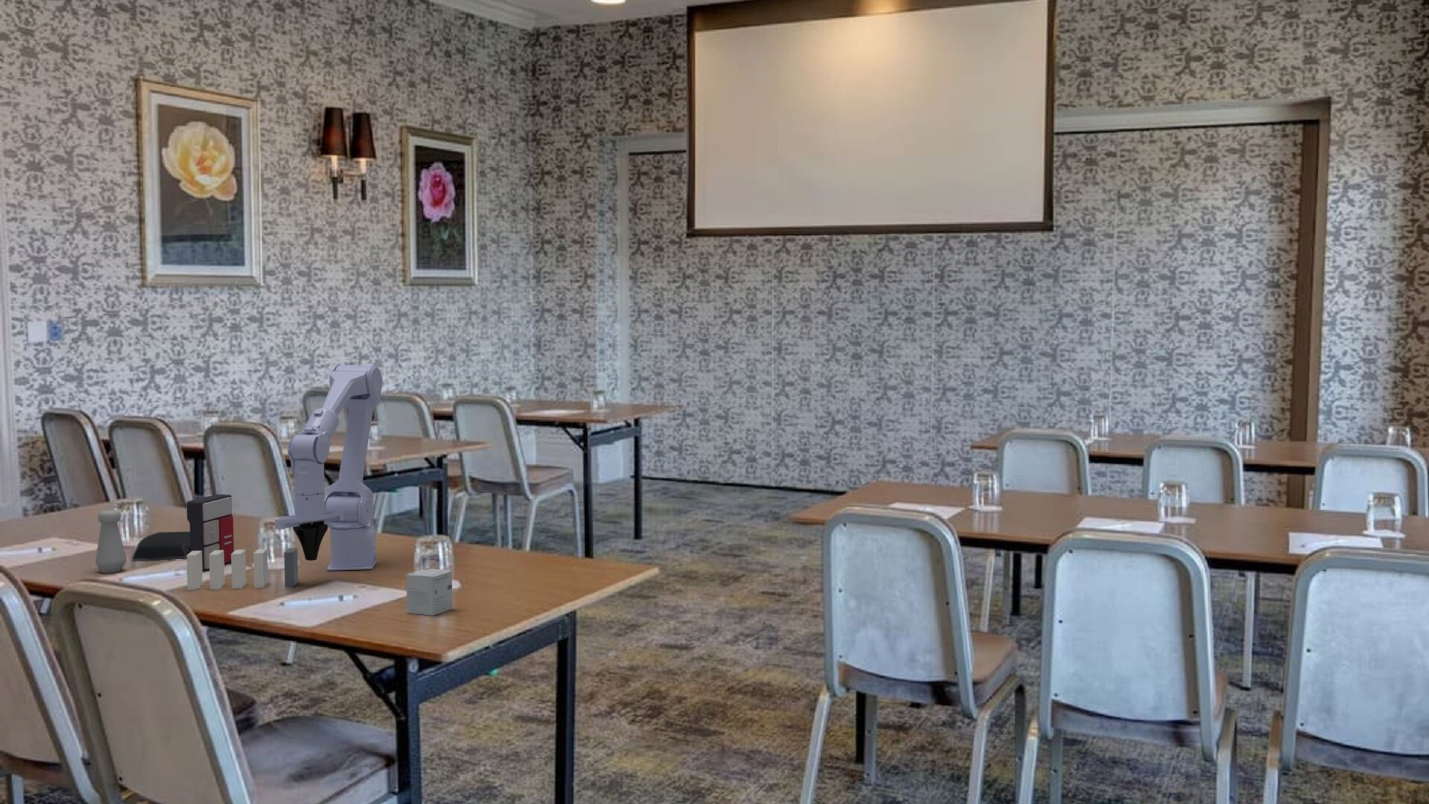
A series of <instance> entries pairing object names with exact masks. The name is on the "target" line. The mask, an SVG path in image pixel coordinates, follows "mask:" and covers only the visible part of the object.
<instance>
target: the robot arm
mask: <svg viewBox="0 0 1429 804" xmlns="http://www.w3.org/2000/svg"><path fill="white" fill-rule="evenodd" d="M328 379H329V380H328V383H329V390H328V393H327V395H326V397H325V398H324V399H325V400H324V401H323V404H322V405H321V406H322V407H320V408H315V409H314V410H313V411H312V413H311V415H310V417H309V418H308V420H307V422H306V423H305V425H304V426H303V429H302V431H300V433H298V434H296V435H295V436H293V437H292V438H291V439H290V441H289V443H288V449H287V454H288V458H289V460H290V468H291V471H292V472H293V474H294V475H293V479H294V514H292V515H289V516H288V515H287V516H285V517H279V518H275V519H274V528H275V530H285V529H289V528H292V530H293V532H294V533H295V535H296V536H297V538H298V541H299V543H300V545H301V547H302V550H303V555H304V558H305V560H306V561H309V562H313V561H316V560H318V556H319V551H320V547H321V543H322V541H323V538H324V537H325V534H326V533H327V532H328V529H329V530H330V531H329V533H330V534H329V536H330V543H329V544H330V563H329V565H328V566H327V567H326V571H348V570H349V571H350V570H351V571H353V570H358V571H359V570H372V569H374V567H375V565H376V563H377V549H376V548H377V547H376V543H377V542H376V541H377V539H376V527H375V526H373V525H368V524H369V523H370V522H371V520H372V518H373V516H374V515H373V514H374V493H373V491H372V490H371V489H370V487H368V486H367V485H366V484H365V483H363V479H364V474H365V473H364V472H365V468H366V467H365V465H366V460H367V453H368V445H369V440H370V433H371V427H372V419H373V413H374V409H375V407H377V406H378V405H379V404H380V399H381V394H382V387H383V384H384V383H383V376H382V371H381V370H380V368H379V367H378V366H377V365H376V364H371V365H368V364H367V365H365V364H363V365H360V364H359V365H357V364H356V365H355V364H352V365H351V364H339V363H338V364H335V365H333V367H332V368H331V370H330V373H329V377H328ZM344 407H346V408H347V409H348V414H347V415H348V417H347V422H346V428H345V435H344V441H343V448H342V455H341V462H340V468H339V474H338V475H339V476H338V479H337V480H336V481H335V482H333V483H332V484H331V485H329V486H328V487H327V488H326V490H325V462H326V461H327V459H328V458H329V455H330V448H331V446H332V442H331V441H332V440H331V439H332V437H333V436H334V434H335V432H336V431H337V429H338V427H339V425H340V418H339V414H340V413H341V411H342V410H344Z"/></svg>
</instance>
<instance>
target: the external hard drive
mask: <svg viewBox="0 0 1429 804" xmlns="http://www.w3.org/2000/svg"><path fill="white" fill-rule="evenodd" d="M190 552H191V551H190V531H158V532H153V533H151V534H149V535H146V536H145V537H143V538H142V539H141V540H140V541H139V542H138V543H137V545H136V547H135V549H134V552H133V554H132V557H131V560H130V562H134V563H135V562H158V561H159V562H162V561H161V560H168V561H173V560H172V559H187V555H188V554H189V553H190Z"/></svg>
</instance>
